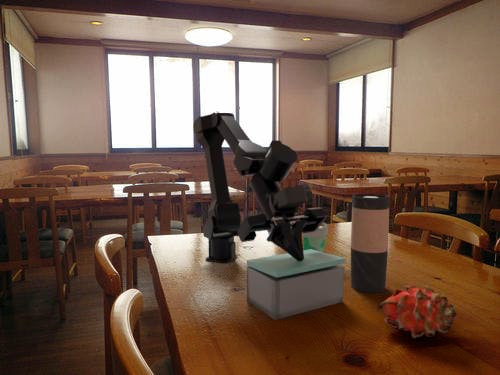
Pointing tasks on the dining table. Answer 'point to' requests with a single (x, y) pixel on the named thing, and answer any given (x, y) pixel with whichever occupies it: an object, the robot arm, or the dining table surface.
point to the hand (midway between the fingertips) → (301, 260)
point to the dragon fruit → (418, 311)
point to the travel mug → (369, 242)
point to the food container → (316, 239)
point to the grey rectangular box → (294, 291)
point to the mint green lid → (295, 263)
